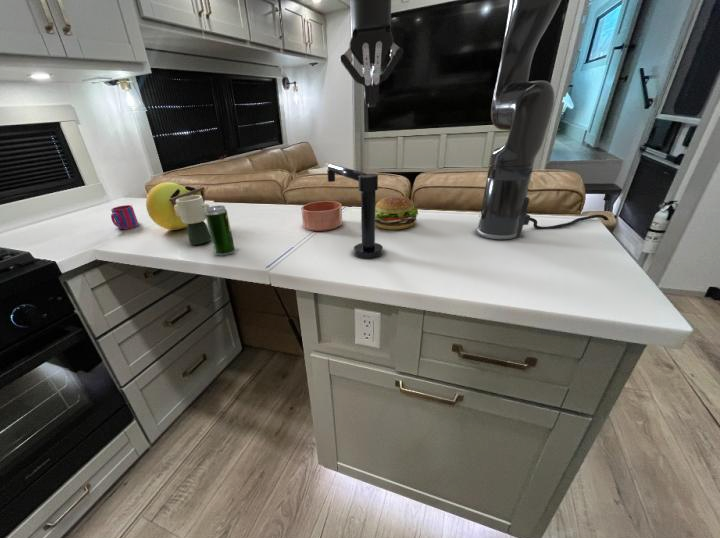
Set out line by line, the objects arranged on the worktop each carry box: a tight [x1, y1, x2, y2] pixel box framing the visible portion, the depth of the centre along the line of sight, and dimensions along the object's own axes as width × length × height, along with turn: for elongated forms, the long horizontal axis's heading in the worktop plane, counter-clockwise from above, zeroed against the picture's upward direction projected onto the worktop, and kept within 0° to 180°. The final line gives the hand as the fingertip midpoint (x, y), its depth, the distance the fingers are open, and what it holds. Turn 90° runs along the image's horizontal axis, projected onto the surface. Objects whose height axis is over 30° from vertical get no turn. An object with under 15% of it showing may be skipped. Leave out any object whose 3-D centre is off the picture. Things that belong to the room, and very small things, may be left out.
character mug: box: [174, 195, 212, 245], centre depth 94 cm, size 11×7×13 cm, turn 79°
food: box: [375, 195, 419, 231], centre depth 97 cm, size 14×14×8 cm
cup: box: [110, 204, 140, 230], centre depth 116 cm, size 7×10×7 cm
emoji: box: [145, 181, 206, 231], centre depth 108 cm, size 16×16×15 cm
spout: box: [326, 163, 379, 192], centre depth 81 cm, size 24×4×4 cm, turn 21°
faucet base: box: [353, 191, 384, 260], centre depth 77 cm, size 7×7×15 cm
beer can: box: [205, 204, 236, 257], centre depth 86 cm, size 5×5×12 cm
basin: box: [300, 200, 343, 232], centre depth 101 cm, size 12×12×6 cm
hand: (371, 106), depth 70 cm, fingers closed
